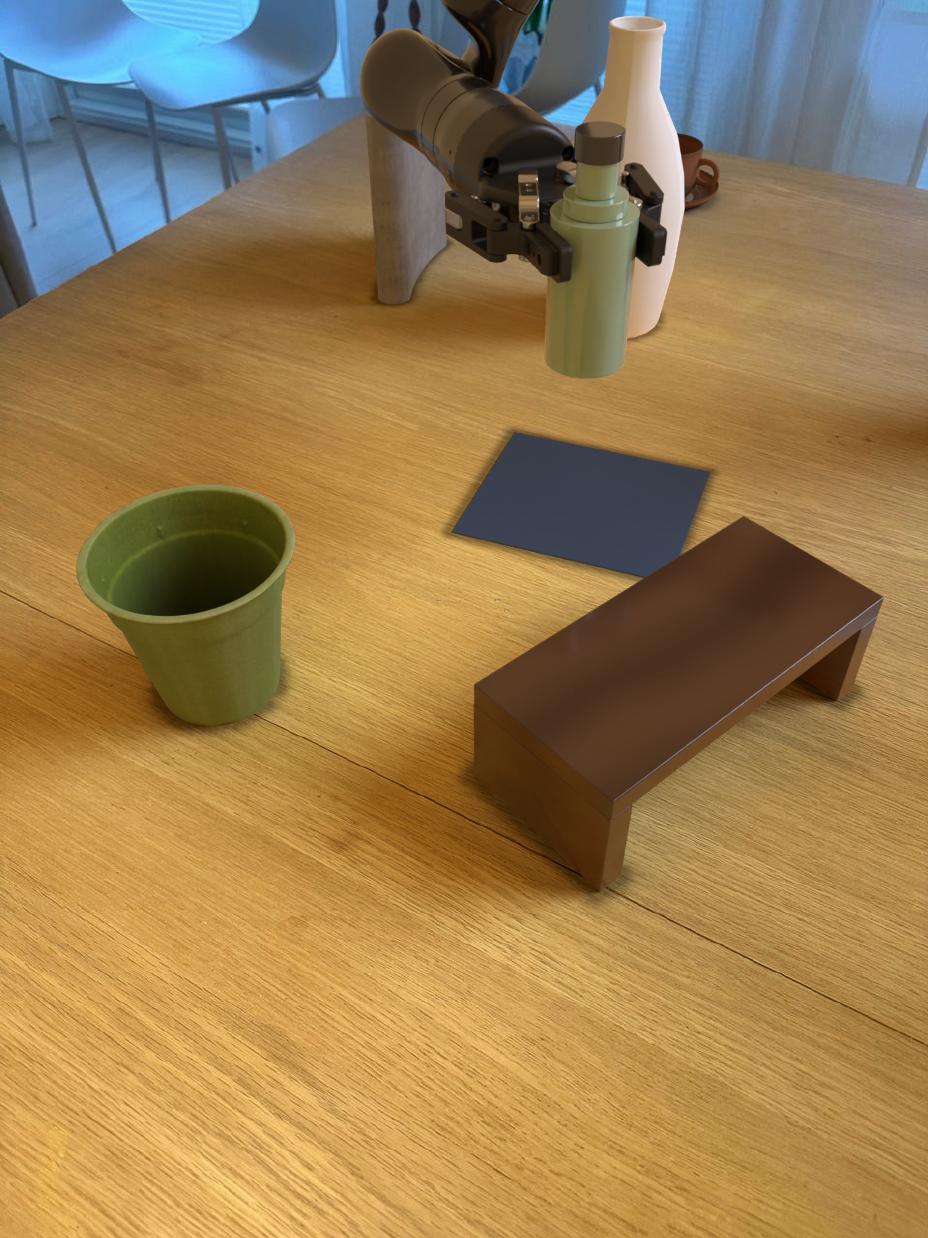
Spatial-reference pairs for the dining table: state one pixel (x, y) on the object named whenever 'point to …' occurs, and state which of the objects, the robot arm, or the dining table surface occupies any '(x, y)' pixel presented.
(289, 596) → the dining table surface
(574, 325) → the spice bottle
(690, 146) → the cup and saucer
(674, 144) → the bottle
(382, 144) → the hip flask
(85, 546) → the plant pot
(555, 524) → the mat
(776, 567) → the shelf
